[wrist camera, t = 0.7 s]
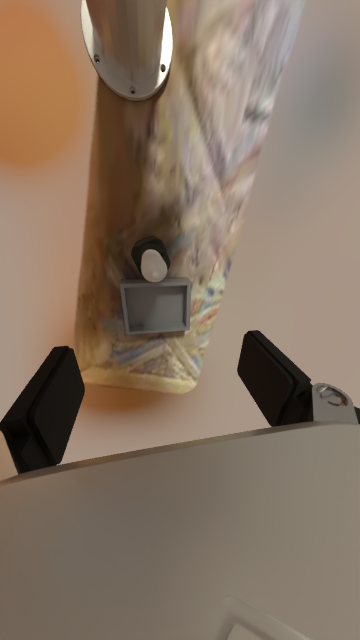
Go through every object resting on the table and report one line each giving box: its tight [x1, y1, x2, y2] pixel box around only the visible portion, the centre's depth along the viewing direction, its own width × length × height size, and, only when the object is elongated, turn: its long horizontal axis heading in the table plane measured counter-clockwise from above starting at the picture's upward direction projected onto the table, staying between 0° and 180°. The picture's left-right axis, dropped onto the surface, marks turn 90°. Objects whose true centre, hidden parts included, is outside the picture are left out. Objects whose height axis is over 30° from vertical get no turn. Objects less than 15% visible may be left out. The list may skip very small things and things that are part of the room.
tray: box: [119, 278, 191, 335], centre depth 44 cm, size 12×15×4 cm
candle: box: [131, 236, 170, 282], centre depth 29 cm, size 5×5×25 cm
